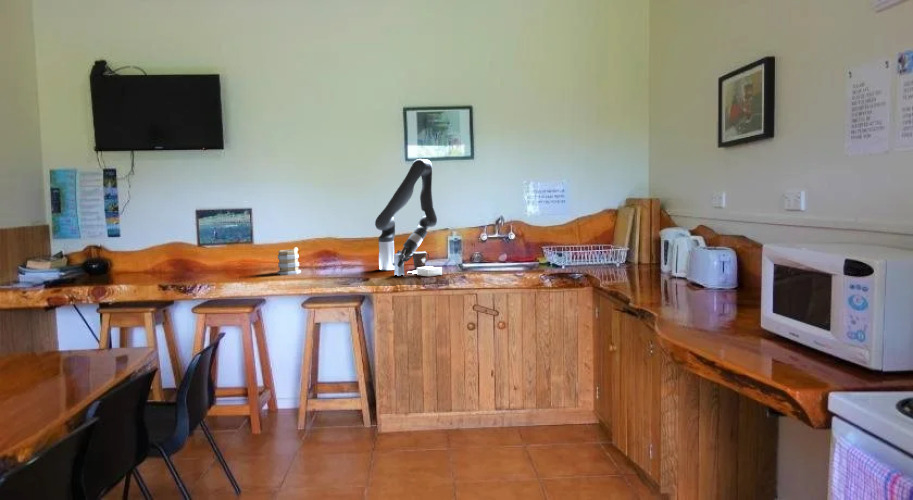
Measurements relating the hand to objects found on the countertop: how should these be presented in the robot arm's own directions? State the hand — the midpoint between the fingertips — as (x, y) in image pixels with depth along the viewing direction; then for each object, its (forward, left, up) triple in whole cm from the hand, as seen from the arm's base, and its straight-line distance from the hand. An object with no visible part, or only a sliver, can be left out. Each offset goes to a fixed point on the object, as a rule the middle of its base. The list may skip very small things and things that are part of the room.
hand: (396, 265), depth 325 cm
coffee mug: (-14, +28, -6) cm, 32 cm away
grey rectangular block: (0, +2, -6) cm, 6 cm away
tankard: (-65, -33, -6) cm, 73 cm away
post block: (+8, +14, -6) cm, 17 cm away
